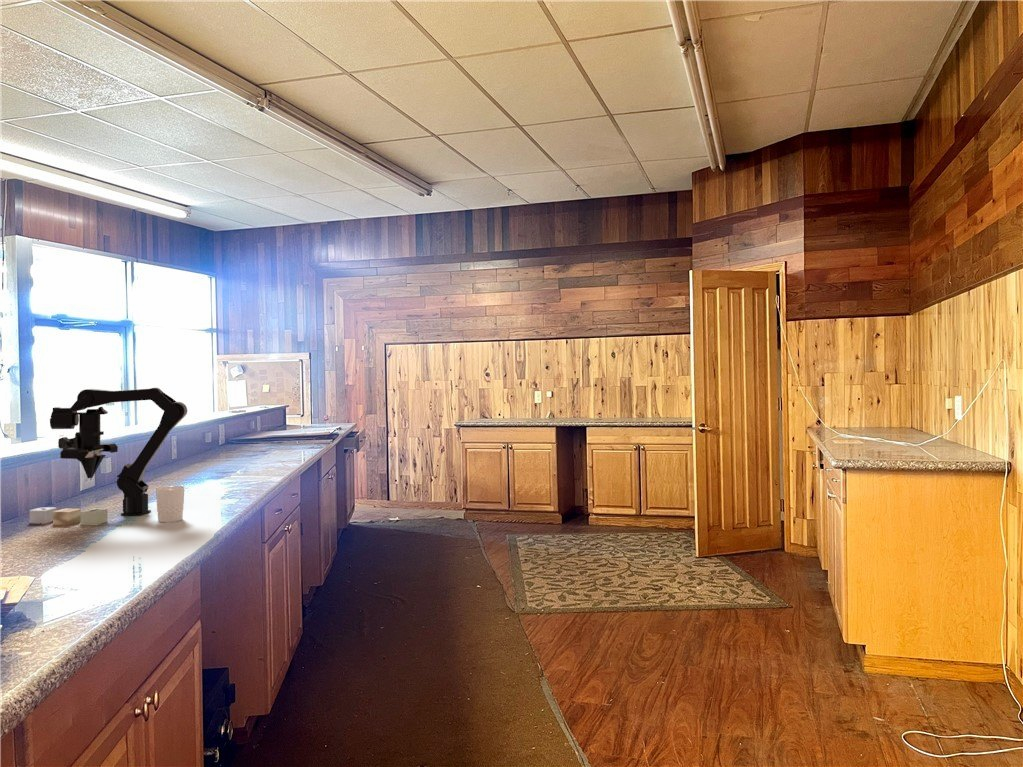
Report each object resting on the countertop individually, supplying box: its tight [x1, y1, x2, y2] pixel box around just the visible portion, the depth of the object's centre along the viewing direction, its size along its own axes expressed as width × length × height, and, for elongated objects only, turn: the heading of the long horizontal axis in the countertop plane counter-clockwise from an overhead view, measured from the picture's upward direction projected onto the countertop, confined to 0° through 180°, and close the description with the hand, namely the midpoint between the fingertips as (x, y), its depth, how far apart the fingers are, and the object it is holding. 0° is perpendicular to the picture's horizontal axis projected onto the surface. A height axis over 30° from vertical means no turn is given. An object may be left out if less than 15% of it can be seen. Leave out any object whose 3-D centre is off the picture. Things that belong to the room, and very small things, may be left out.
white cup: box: [155, 485, 185, 523], centre depth 216 cm, size 8×8×10 cm
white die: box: [29, 506, 58, 525], centre depth 212 cm, size 5×5×4 cm
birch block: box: [52, 507, 82, 526], centre depth 210 cm, size 5×5×4 cm
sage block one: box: [80, 508, 108, 526], centre depth 211 cm, size 5×5×4 cm
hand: (90, 478), depth 220 cm, fingers closed
